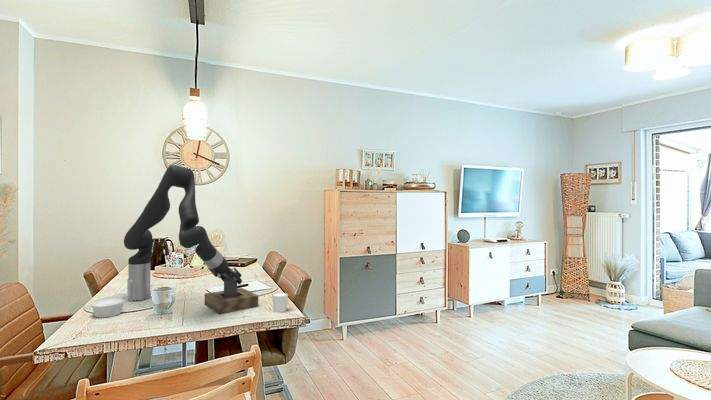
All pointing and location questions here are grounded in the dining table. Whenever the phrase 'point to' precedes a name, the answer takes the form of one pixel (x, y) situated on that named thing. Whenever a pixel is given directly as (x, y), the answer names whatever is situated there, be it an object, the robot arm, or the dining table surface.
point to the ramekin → (107, 307)
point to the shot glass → (280, 302)
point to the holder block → (231, 301)
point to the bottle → (230, 287)
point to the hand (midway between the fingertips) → (233, 281)
